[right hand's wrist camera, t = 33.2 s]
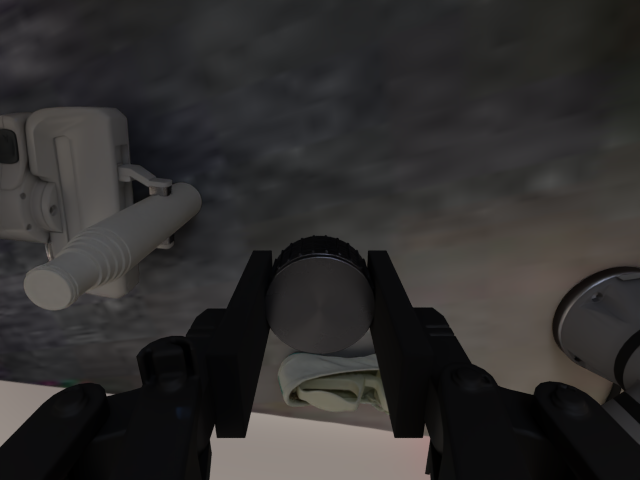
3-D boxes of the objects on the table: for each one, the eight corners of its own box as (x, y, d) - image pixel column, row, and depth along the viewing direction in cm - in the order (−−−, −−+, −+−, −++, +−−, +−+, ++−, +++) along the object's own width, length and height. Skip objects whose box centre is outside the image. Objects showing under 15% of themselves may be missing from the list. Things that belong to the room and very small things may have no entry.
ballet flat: (442, 390, 53) (462, 436, 45) (280, 388, 53) (274, 433, 45) (450, 343, 50) (472, 384, 42) (278, 342, 50) (271, 382, 42)
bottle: (209, 202, 43) (98, 294, 22) (185, 224, 44) (56, 333, 23) (182, 174, 42) (37, 243, 20) (157, 198, 43) (-5, 286, 21)
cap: (250, 267, 15) (238, 293, 12) (335, 214, 14) (337, 233, 12) (306, 337, 16) (304, 371, 14) (387, 292, 15) (398, 322, 13)
